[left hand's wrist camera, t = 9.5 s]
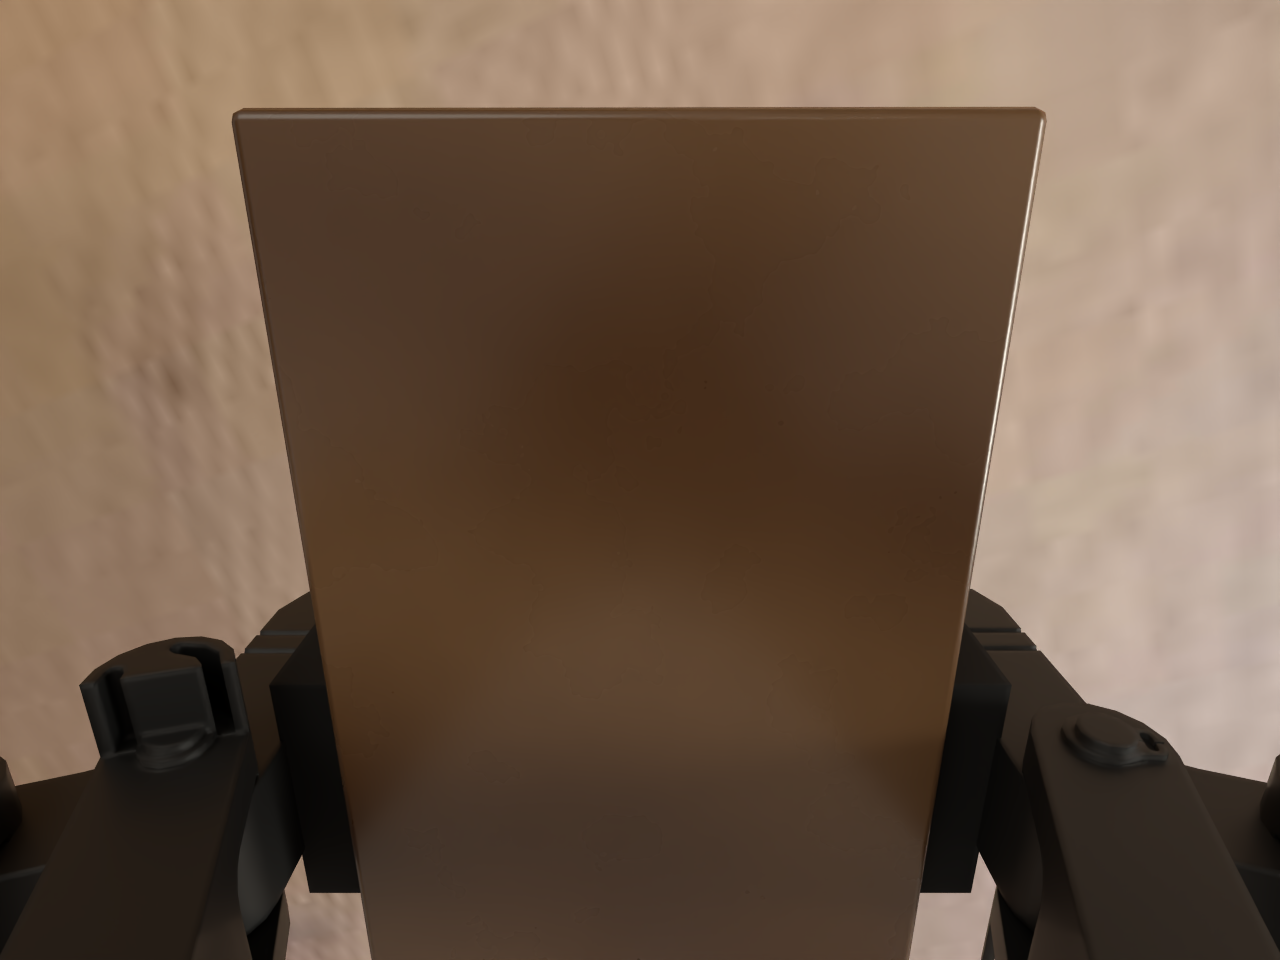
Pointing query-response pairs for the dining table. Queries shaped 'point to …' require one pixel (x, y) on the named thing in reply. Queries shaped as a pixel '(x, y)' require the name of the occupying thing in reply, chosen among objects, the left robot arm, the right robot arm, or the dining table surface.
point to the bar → (639, 504)
